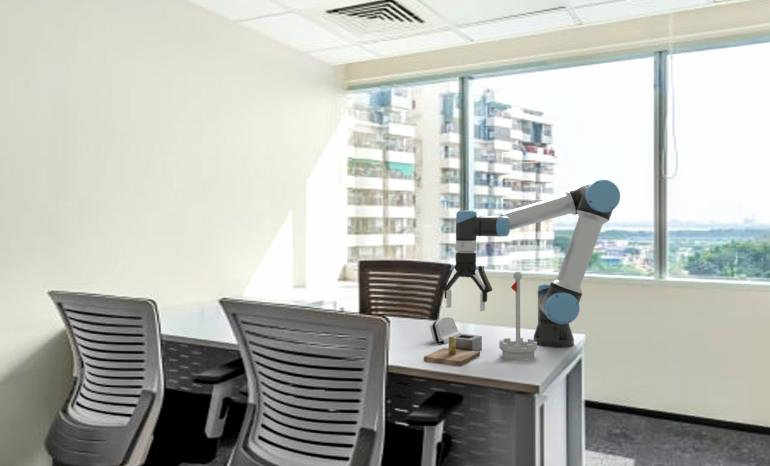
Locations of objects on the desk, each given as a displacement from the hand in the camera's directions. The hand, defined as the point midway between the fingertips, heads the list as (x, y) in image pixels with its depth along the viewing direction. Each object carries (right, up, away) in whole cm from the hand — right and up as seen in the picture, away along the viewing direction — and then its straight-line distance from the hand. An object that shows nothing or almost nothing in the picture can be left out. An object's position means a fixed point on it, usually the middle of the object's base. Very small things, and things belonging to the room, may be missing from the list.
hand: (465, 309), depth 216 cm
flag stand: (+17, -16, -11) cm, 26 cm away
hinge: (-5, -15, +20) cm, 25 cm away
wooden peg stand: (-6, -16, -13) cm, 21 cm away
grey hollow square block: (0, -15, 0) cm, 15 cm away
